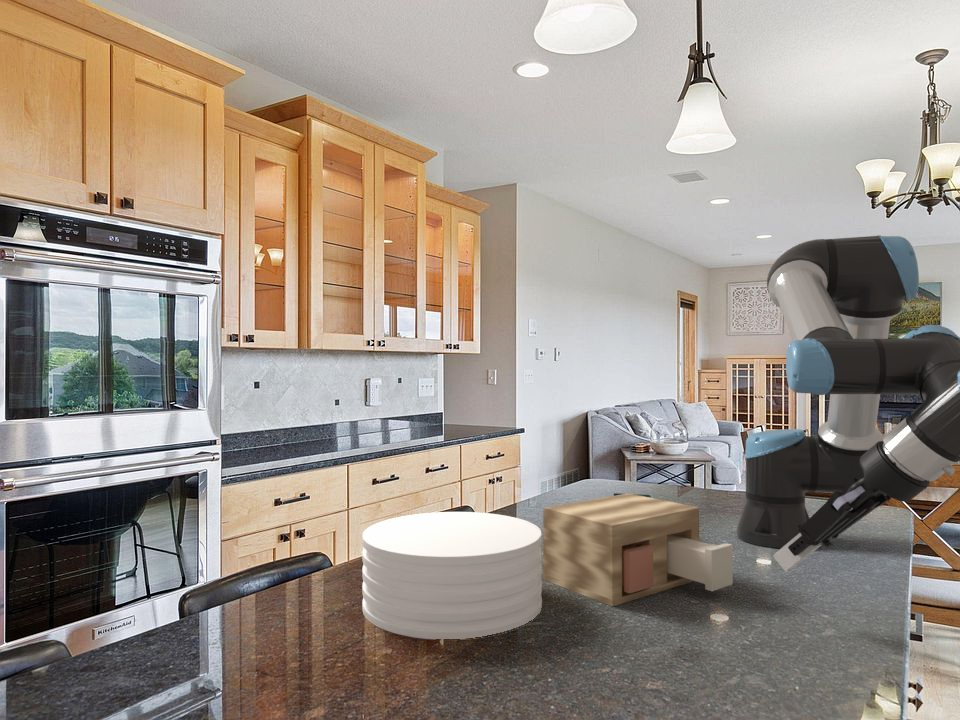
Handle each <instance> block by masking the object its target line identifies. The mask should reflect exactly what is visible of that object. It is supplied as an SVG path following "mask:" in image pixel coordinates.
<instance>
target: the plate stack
mask: <svg viewBox="0 0 960 720" xmlns="http://www.w3.org/2000/svg"><path fill="white" fill-rule="evenodd" d="M361 536H362V541H361V542H362V543H361V544H362V546H363V549H362V551H361V553H362V554H361V559H362V561H361V562H362V563H363V565H362V568H361V569H362V572H361V574H362V576H361V577H362V580H363V582H362V585H361V586H362V588H361V589H362V590H361V591H362V593H361V594H362V597H363V598H362V602H361V603H362V604H361V605H362V606H361V607H362V609H361V610H362V613H363V616H364V617H365V619H366V620H367V621H369V623H371V624H372V625H373V626H376V627H377V628H379V629H382V630H384V631H387V632H389V633H392V634H396V635H401V636H404V637H409V638H417V639H423V640H436V639H460V640H467V639H466V638H473V639H476V638H475V637H481V638H483V637H482V636H487V635H492V634H496V633H500V632H504V631H507V630H511V629H513V628H516V627H519V626H521V625H524V624H526V623H528V622H529V621H531V620H532V621H533V619H534V618H535V617H536V616H537V615H538V614H539V615H540V613H541V611H542V609H541V608H542V607H543V598H542V597H543V596H542V592H543V581H542V575H543V573H542V572H543V567H542V566H543V565H542V562H541V561H542V559H543V556H542V555H543V551H542V550H543V548H542V546H541V545H542V543H543V542H542V541H543V538H542V537H543V535H542V530H541V528H540V527H538V526H537V525H536V524H534V523H532V522H530V521H528V520H525V519H522V518H519V517H514V516H509V515H503V514H498V513H491V512H490V513H488V512H476V511H475V512H474V511H438V512H437V511H436V512H424V513H416V514H408V515H402V516H397V517H393V518H388V519H384V520H382V521H379V522H376V523H374V524H372V525H370V526H368V527H367V528H366V529H365V530H364V531H363V532H362V535H361ZM539 615H538V616H539ZM538 616H537V617H538ZM537 617H536V618H537ZM536 618H535V619H536ZM535 619H534V620H535ZM532 621H531V622H532ZM529 623H530V622H529ZM529 623H528V624H529ZM526 625H527V624H526ZM524 626H525V625H524Z"/></svg>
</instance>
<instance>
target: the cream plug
mask: <svg viewBox="0 0 960 720" xmlns="http://www.w3.org/2000/svg"><path fill="white" fill-rule="evenodd" d="M733 554H734V553H733V544H731V543H727V542H725V543H721V544H718V545H715V544H712V543H707V542H704V541H700V540H699V541H696V540H692V539H688V538H684V537H680V536H676V535H671V534H670V535H667V573H671V574H674V575H677V576H680V577H684V578H687V579H690V580H693V582H697V583H701V584H704V586H705V587H704V588H705V589H704V590H707V591H710V592H714V591H718V590H720V589H723V588H726V587H729V586H732V585H733V579H734V578H733V577H734V576H733V575H734V574H733V565H734V563H733V561H734V560H733Z"/></svg>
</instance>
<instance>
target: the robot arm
mask: <svg viewBox="0 0 960 720" xmlns="http://www.w3.org/2000/svg"><path fill="white" fill-rule="evenodd" d="M917 259H918V258H917V256H916V253H915V250H914V248H913V245H912V244H911V242H910V241H909V240H908V239H906V238H905V237H903V236H899V235H889V236H886V235H880V234H879V235H878V234H877V235H872V236H871V235H869V236H855V237H853V236H852V237H841V238H840V237H839V238H819V239H818V238H816V239H812V240H807V241H804V242H801V243H797V245H795V246H792V247H791V248H789V249H787V250H786V251H785V252H784V253H782V254H780V256H779V257H778V258H777V259H776V260H775V261H774V263H773V264H772V265H771V267H770V269H769V271H768V275H767V279H766V289H767V292H768V296H769V298H770V299H771V301H772V303H773V304H774V305H776V306H777V307H778V308H779V309H781V313H782V315H783V318H784V321H785V323H786V326H787V329H788V331H789V332H788V333H789V334H790V337H791V339H792V341H791V342H790V343H789V344H788V346H787V350H786V355H785V357H786V359H785V373H786V381H787V385H788V387H789V389H790V390H791V391H792V392H793V393H794V392H795V393H798V394H810V395H812V394H814V395H817V396H825V395H829V403H828V413H827V421H825V422H823V423H822V424H821V425H819V427H818V430H817V436H814V435H813V436H806V435H807V434H806V432H805V430H803V429H800V428H791V429H789V428H785V429H770V430H764V431H759V432H758V431H757V432H754V433H752V434H749V436H748V437H747V438H746V440H745V451H744V453H745V454H744V459H745V502H744V506H743V508H742V510H741V511H742V512H741V513H740V517H739V520H738V523H737V525H736V533H737V534H736V536H737V538H738V537H739V538H738V539H739V540H741V539H742V540H741V541H743V542H746V543H748V544H752V545H757V546H762V547H769V548H774V549H775V548H777V549H779V550H777V551H776V552H775V553H774V554H772V557H773V558H774V559H775V561H776V562H777V563H778V564H779V566H780V567H781V568H782V570H783V571H784V572H788V571H791V570H793V569H794V568H795V567H797V566H798V565H799V564H800V563H801V562H803V561H804V560H805V559H806V558H807V557H809V556H810V555H812V553H814V552H815V551H816V550H817V549H819V548H820V547H821V546H822V545H824V547H826V548H829V547H831V546H832V545H833V543H832V542H831V541H830V539H836V538H838V537H839V536H840V535H841V534H842V533H844V532H845V531H847V530H848V529H850V527H852V526H854V525H855V524H856V523H857V522H859V521H861V519H863V518H865V517H866V516H867V515H868V514H870V513H871V512H873V511H874V510H876V509H877V508H878V507H882V506H883V505H884V504H886V503H887V502H889V501H890V500H891V499H894V500H895V501H898V502H902V503H903V502H905V503H907V502H910V501H911V500H913V499H914V498H915V497H917V496H918V495H919V494H921V493H922V492H923V491H924V490H926V489H927V488H929V486H930V482H935V481H936V480H938V479H939V478H941V477H942V476H943V475H944V474H947V475H948V476H953V475H954V474H955V472H956V470H955V468H954V467H952V466H954V465H957V464H958V463H960V336H958V334H956V333H955V332H954V331H953V330H951V329H950V328H948V327H945V326H942V325H937V324H930V325H929V324H928V325H922V326H921V327H917V328H915V329H913V330H910V331H908V332H907V334H905V335H904V336H903V337H901V338H889V333H890V325H891V320H892V319H894V318H895V317H898V316H899V315H900V314H901V313H902V311H903V310H902V309H903V308H902V307H903V302H909V301H913V300H914V299H915V298H916V296H917V294H918V291H919V285H920V284H919V283H920V277H919V276H920V275H919V265H918V260H917ZM881 395H898V396H899V395H903V396H904V395H906V396H907V395H908V396H909V395H911V396H912V395H916V396H919V397H920V399H921V400H922V403H921V404H920V405H919V406H918V407H917V408H915V409H914V410H913V411H912V412H911V413H910V414H908V415H907V416H905V417H904V419H902V420H901V421H900V422H899V423H898V424H896V425H895V426H894V427H892V428H891V429H890V430H889V431H888V432H886V434H884V435H883V433H882V431H880V429H878V428H877V420H878V414H879V406H880V400H881ZM806 493H825V494H826V493H828V494H829V493H830V494H831V495H830V497H829V498H828V500H827V501H826V502H824V504H823V505H821V507H820V508H819V509H818V510H817V511H816V512H815V513H813V515H811V517H810V515H809V513H808V510H807V507H806Z"/></svg>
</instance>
